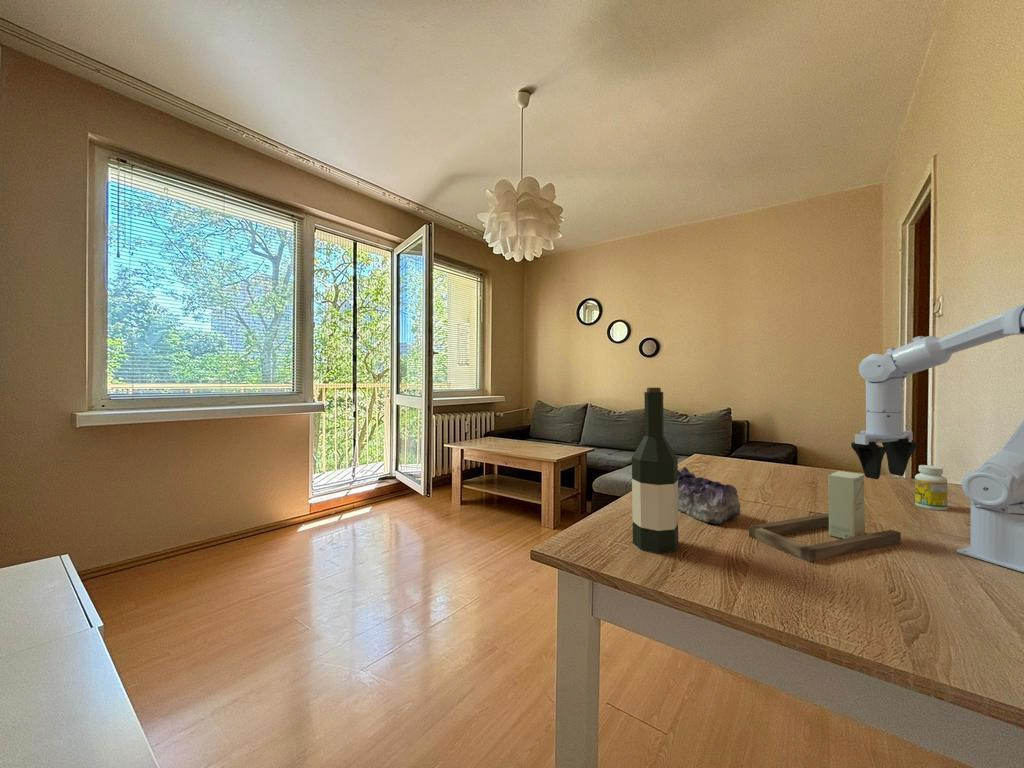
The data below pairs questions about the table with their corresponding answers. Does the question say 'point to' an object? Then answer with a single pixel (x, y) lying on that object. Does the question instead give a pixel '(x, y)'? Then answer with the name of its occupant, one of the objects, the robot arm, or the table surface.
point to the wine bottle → (655, 483)
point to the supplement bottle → (931, 488)
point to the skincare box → (846, 504)
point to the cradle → (772, 536)
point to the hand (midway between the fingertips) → (884, 476)
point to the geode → (706, 498)
